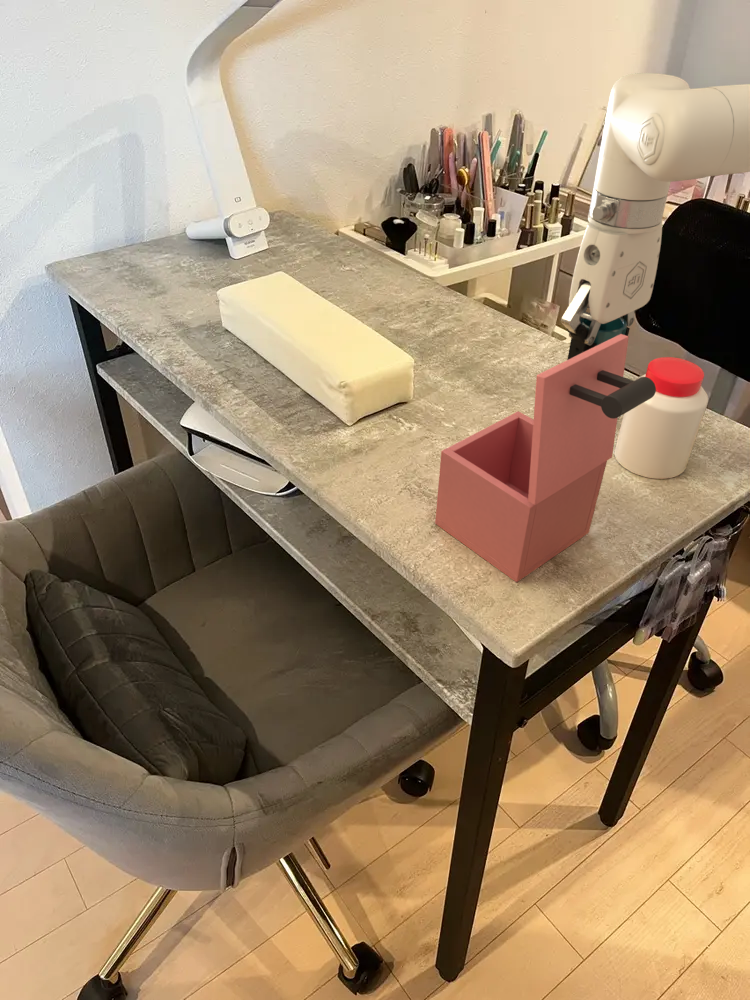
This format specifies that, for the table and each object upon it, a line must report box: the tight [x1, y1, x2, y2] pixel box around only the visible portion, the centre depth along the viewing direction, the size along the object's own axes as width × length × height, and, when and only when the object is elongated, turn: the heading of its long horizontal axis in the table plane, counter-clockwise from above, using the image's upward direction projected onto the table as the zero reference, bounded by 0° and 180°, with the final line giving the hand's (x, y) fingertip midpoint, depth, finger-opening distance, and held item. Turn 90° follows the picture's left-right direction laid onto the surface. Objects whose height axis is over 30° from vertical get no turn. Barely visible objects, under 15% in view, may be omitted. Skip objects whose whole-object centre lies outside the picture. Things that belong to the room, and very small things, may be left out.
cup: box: [582, 317, 628, 345], centre depth 91 cm, size 5×5×6 cm
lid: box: [528, 334, 656, 505], centre depth 61 cm, size 12×11×6 cm
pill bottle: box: [613, 356, 709, 480], centre depth 81 cm, size 8×8×11 cm
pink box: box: [434, 410, 608, 583], centre depth 72 cm, size 11×11×9 cm
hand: (595, 361), depth 92 cm, fingers closed on cup, 5 cm apart
